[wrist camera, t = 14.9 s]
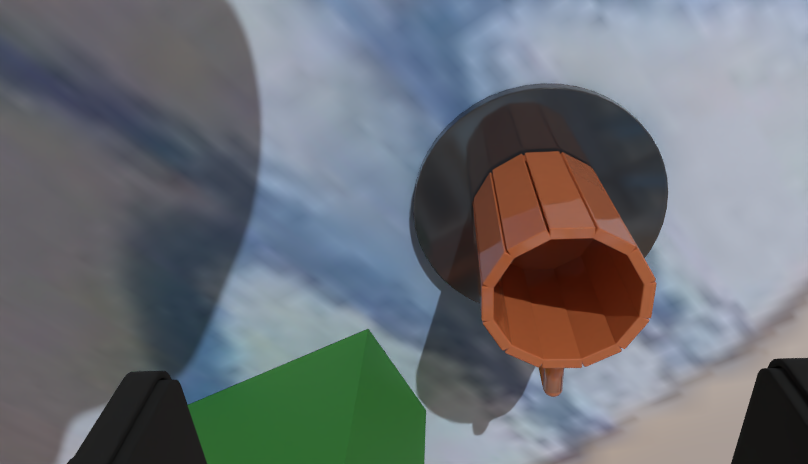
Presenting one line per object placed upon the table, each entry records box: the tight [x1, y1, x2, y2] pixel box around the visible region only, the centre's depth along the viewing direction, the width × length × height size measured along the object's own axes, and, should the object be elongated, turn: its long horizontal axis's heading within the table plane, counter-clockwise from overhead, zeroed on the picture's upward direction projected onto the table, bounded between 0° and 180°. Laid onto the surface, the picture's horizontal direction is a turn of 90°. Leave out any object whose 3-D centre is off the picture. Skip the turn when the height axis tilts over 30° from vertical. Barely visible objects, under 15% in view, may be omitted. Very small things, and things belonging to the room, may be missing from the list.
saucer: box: [413, 84, 668, 303], centre depth 32 cm, size 13×13×1 cm
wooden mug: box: [473, 151, 656, 397], centre depth 28 cm, size 10×7×8 cm
